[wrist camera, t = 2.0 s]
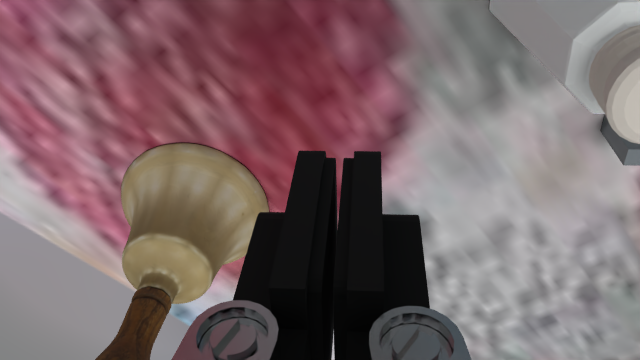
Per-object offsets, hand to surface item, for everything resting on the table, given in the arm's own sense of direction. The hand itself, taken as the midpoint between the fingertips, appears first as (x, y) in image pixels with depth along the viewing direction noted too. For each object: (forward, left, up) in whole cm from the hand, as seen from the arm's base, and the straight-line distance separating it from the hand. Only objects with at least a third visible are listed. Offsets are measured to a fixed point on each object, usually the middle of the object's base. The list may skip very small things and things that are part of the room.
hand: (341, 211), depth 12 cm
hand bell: (+11, -9, -15) cm, 21 cm away
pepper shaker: (-1, +8, -15) cm, 17 cm away
